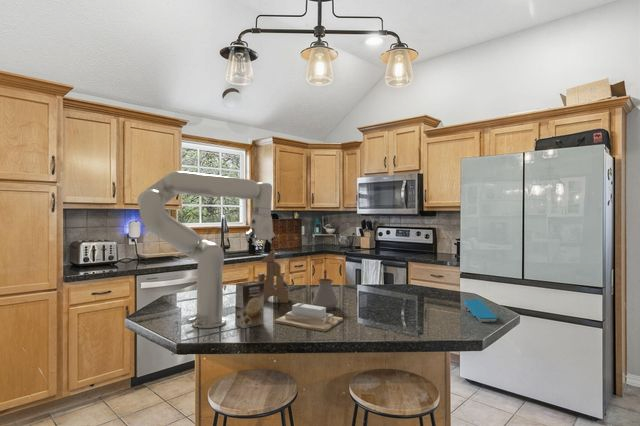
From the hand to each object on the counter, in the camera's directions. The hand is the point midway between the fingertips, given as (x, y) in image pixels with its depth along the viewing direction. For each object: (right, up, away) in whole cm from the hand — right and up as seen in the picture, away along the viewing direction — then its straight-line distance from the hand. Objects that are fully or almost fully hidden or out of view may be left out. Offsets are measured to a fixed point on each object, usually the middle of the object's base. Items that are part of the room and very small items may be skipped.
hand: (259, 253), depth 156 cm
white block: (+21, -25, -6) cm, 33 cm away
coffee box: (-2, -27, -11) cm, 29 cm away
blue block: (+92, -28, +4) cm, 96 cm away
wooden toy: (+2, -26, +27) cm, 37 cm away
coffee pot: (+27, -26, +19) cm, 42 cm away
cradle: (+21, -26, -6) cm, 34 cm away
